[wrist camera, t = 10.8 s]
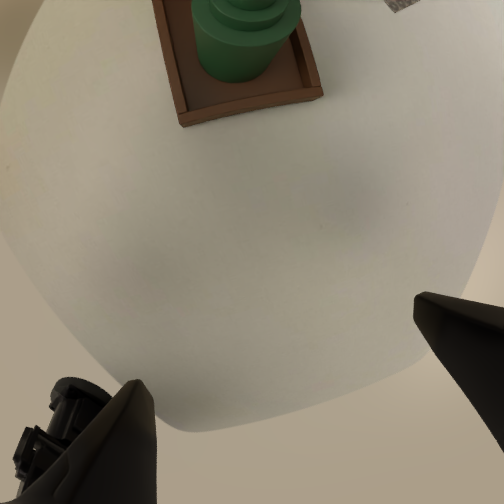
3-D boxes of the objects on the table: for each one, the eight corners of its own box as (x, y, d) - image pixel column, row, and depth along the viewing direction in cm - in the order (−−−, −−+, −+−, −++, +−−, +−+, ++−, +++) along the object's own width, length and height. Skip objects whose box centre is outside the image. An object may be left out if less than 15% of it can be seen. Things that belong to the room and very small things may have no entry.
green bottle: (230, 97, 15) (252, 39, 6) (182, 49, 14) (157, -37, 5) (286, 56, 15) (353, -16, 6) (238, 11, 13) (263, -85, 4)
